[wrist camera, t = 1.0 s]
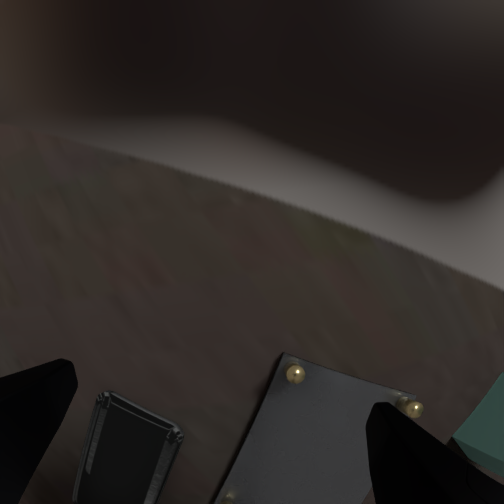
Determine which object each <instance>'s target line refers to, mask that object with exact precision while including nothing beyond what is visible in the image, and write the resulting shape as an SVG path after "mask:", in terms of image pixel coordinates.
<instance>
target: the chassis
mask: <svg viewBox="0 0 504 504" xmlns="http://www.w3.org/2000/svg"><path fill="white" fill-rule="evenodd" d="M415 398H416V395H413V394H411V393H407V392H404V391H400V390H397V389H393V388H390V387H386V386H383V385H380V384H376V383H373V382H370V381H366V380H363V379H360V378H357V377H354V376H351V375H348V374H344V373H341V372H338V371H335V370H332V369H329V368H326V367H324V366H321V365H318V364H315V363H312V362H309V361H306V360H304V359H301V358H298V357H295V356H293V355H290V354H287V353H284V352H283V353H282V356H281V358H280V361H279V363H278V365H277V368H276V370H275V373H274V375H273V377H272V380H271V382H270V384H269V387H268V389H267V391H266V393H265V396H264V398H263V400H262V402H261V405H260V407H259V409H258V411H257V414H256V416H255V418H254V420H253V422H252V425H251V427H250V429H249V431H248V433H247V435H246V437H245V440H244V442H243V444H242V446H241V448H240V450H239V452H238V454H237V456H236V458H235V460H234V462H233V464H232V467H231V469H230V471H229V473H228V475H227V477H226V479H225V481H224V482H223V484H222V486H221V488H220V490H219V492H218V494H217V496H216V498H215V500H214V502H213V504H361V503H362V502H363V500H364V498H365V497H366V495H367V494H368V492H369V490H370V489H371V487H372V482H371V477H370V472H369V462H368V450H367V440H366V430H365V427H366V422H367V419H368V417H369V414H370V412H371V409H372V407H373V405H374V403H376V402H389V403H391V404H392V405H393V406H394V407H396V408H397V409H398V410H400V411H401V412H402V413H403V414H405V415H406V416H407V417H408V416H410V417H412V418H418V417H419V416H420V415H421V414H422V412H423V405H422V404H421V403H418V402H416V401H415Z"/></svg>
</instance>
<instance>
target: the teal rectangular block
mask: <svg viewBox="0 0 504 504" xmlns="http://www.w3.org/2000/svg"><path fill="white" fill-rule="evenodd" d="M452 437H453V438H454V440H455V441H456V442H457V444H458V445H459V446H460V448H461V449H462V450H463V452H464V453H465V454H466V456H467V457H468V458H469V459H470V460H472V461H474V462H476V463H478V464H479V465H481V466H483V467H485V468H487V469H489V470H490V471H492V472H494V473H496V474H498V475H500V476H502V477H504V372H502V373H501V375H500V376H499V377H498V379H497V380H496V382H495V383H494V385H493V386H492V387H491V389H490V390H489V391H488V393H487V394H486V395H485V397H484V398H483V399H482V401H481V402H480V403H479V405H478V406H477V407H476V408H475V410H474V411H473V412H472V413H471V415H470V416H469V417H468V418H467V419H466V421H465V422H464V423H463V424H462V425H461V426H460V428H459V429H458V430H457V431H456V432H455V433H454V434H453V436H452Z"/></svg>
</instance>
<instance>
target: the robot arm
mask: <svg viewBox="0 0 504 504" xmlns="http://www.w3.org/2000/svg"><path fill="white" fill-rule="evenodd" d="M77 387H78V381H77V377H76V373H75V369H74V365H73V363H72V362H71V361H69V360H66V359H62V358H60V359H57V360H54V361H51V362H48V363H45V364H42V365H39V366H36V367H33V368H29V369H26V370H23V371H20V372H17V373H14V374H11V375H7V376H4V377H1V378H0V504H18V502H19V500H20V498H21V496H22V494H23V492H24V491H25V489H26V487H27V485H28V483H29V481H30V479H31V477H32V475H33V473H34V471H35V470H36V468H37V466H38V464H39V462H40V460H41V459H42V457H43V455H44V453H45V451H46V450H47V448H48V446H49V444H50V443H51V441H52V439H53V437H54V436H55V434H56V432H57V430H58V429H59V427H60V425H61V423H62V421H63V419H64V417H65V414H66V412H67V410H68V408H69V405H70V403H71V401H72V399H73V397H74V395H75V392H76V390H77ZM365 430H366V440H367V450H368V462H369V472H370V477H371V482H372V487H373V492H374V497H375V502H376V504H504V485H503V484H501V483H499V482H497V481H496V480H494V479H492V478H491V477H489V476H487V475H486V474H485V473H483V472H482V471H480V470H479V469H477V468H476V467H474V466H473V465H472V464H470V463H467V461H466V460H465V459H463V458H462V457H461V456H459V455H458V454H456V453H455V452H454V451H452V450H451V449H450V448H448V447H447V446H446V445H444V444H443V443H442V442H440V441H439V440H438V439H436V438H435V437H434V436H432V435H431V434H430V433H428V432H427V431H426V430H424V429H423V428H422V427H420V426H419V425H418V424H417V423H415V422H414V421H413V420H411V419H410V418H409V417H407V416H406V415H405V414H403V413H402V412H401V411H400V410H398V409H397V408H396V407H394V406H393V405H392V404H391V403H389V402H376V403H374V405H373V407H372V409H371V412H370V414H369V417H368V419H367V422H366V427H365Z"/></svg>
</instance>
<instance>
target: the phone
mask: <svg viewBox="0 0 504 504" xmlns="http://www.w3.org/2000/svg"><path fill="white" fill-rule="evenodd" d="M183 438H184V432H183V430H182V428H181V427H180V426H179V425H178V424H177V423H175V422H173V421H171V420H169V419H167V418H164V417H162V416H160V415H158V414H156V413H154V412H152V411H150V410H148V409H146V408H144V407H142V406H140V405H138V404H136V403H134V402H132V401H131V400H129V399H127V398H125V397H123V396H121V395H120V394H118V393H116V392H113V391H106V392H103V393H101V394H99V395H98V397H97V399H96V403H95V406H94V409H93V413H92V416H91V420H90V424H89V427H88V431H87V435H86V439H85V442H84V446H83V450H82V454H81V459H80V463H79V467H78V471H77V476H76V481H75V485H74V490H73V495H72V501H73V503H74V504H158V501H159V499H160V496H161V494H162V491H163V489H164V486H165V484H166V481H167V479H168V476H169V474H170V471H171V469H172V466H173V464H174V461H175V459H176V456H177V454H178V451H179V449H180V446H181V444H182V441H183Z"/></svg>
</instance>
